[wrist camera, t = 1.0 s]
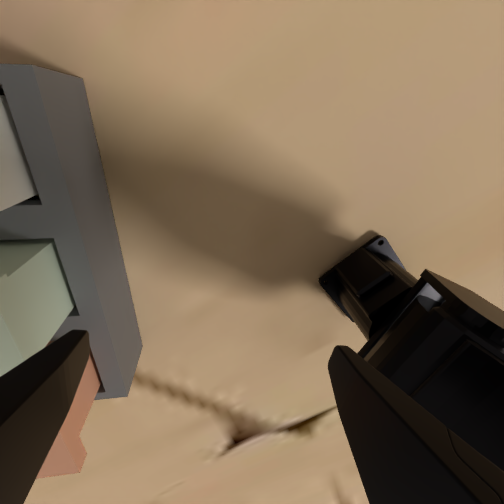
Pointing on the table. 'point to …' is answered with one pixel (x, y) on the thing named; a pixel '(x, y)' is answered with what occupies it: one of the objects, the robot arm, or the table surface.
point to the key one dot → (13, 162)
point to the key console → (73, 215)
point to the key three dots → (73, 427)
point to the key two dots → (30, 298)
